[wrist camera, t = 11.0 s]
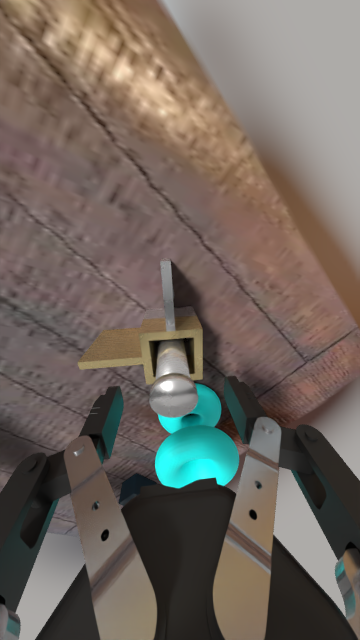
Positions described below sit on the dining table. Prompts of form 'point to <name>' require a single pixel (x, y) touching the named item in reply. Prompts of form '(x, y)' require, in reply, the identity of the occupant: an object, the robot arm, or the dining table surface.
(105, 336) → the bracket
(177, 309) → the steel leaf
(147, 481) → the watch
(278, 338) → the dining table surface
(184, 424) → the donuts
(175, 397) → the hinge pin
